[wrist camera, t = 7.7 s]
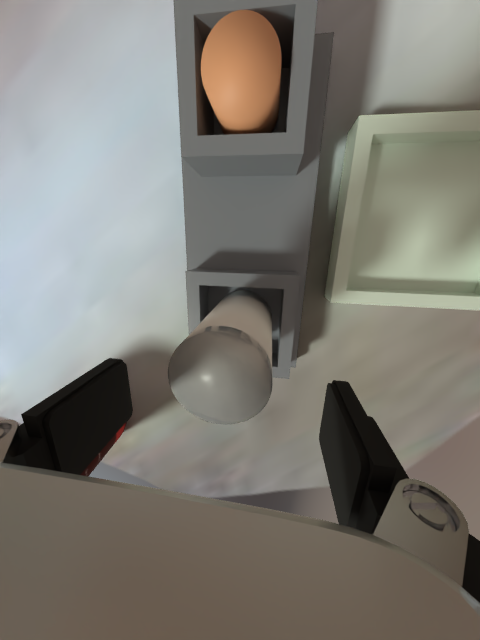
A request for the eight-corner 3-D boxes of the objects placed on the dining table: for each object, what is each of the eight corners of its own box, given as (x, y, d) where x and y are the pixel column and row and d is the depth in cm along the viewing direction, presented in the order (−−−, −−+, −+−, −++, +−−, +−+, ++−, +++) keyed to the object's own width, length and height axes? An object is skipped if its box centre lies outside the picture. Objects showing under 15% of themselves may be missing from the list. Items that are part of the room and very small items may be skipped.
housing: (184, 63, 16) (143, -22, 11) (328, 52, 15) (357, -50, 10) (196, 351, 23) (175, 381, 18) (294, 359, 22) (300, 394, 17)
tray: (347, 133, 16) (359, 115, 14) (539, 126, 15) (585, 105, 13) (324, 296, 20) (330, 302, 18) (475, 303, 18) (502, 311, 16)
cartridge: (215, 288, 19) (163, 328, 10) (273, 291, 19) (275, 335, 9) (216, 341, 21) (172, 418, 12) (270, 345, 20) (269, 430, 11)
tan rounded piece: (218, 75, 14) (199, 14, 11) (281, 70, 14) (284, 5, 10) (218, 148, 16) (201, 118, 12) (276, 147, 15) (278, 114, 11)
